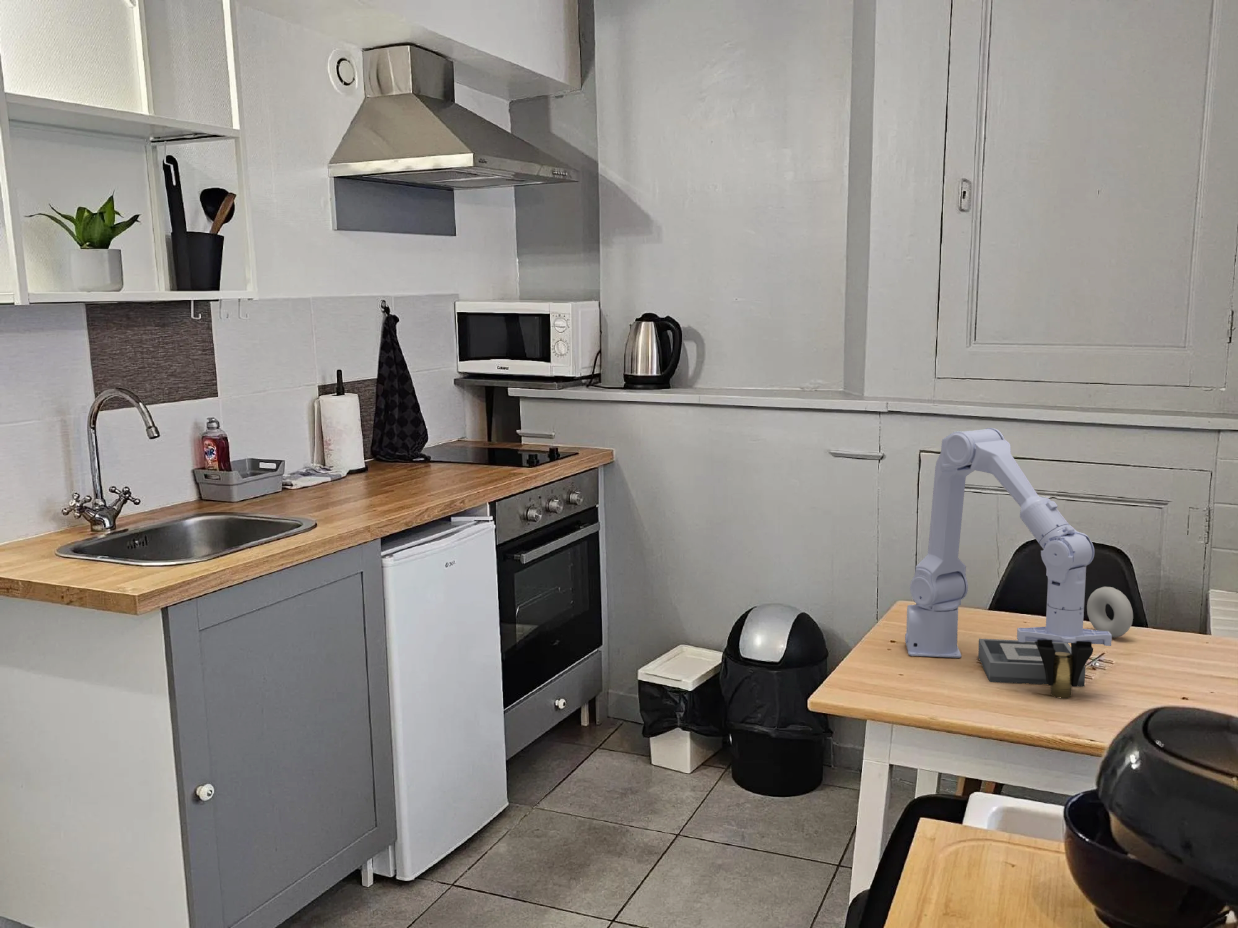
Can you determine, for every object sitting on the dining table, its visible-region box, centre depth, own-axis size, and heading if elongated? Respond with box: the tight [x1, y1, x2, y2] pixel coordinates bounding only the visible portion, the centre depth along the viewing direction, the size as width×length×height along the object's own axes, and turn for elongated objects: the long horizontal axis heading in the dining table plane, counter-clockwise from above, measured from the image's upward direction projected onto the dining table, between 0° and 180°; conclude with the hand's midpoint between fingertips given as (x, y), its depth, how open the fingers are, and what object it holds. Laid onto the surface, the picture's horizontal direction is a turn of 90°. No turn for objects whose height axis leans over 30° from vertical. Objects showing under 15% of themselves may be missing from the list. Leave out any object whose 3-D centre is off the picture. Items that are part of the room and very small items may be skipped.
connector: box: [1050, 652, 1073, 699], centre depth 178 cm, size 3×3×7 cm
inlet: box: [999, 643, 1043, 664], centre depth 190 cm, size 9×9×2 cm
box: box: [977, 638, 1086, 687], centre depth 190 cm, size 16×14×4 cm
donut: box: [1086, 586, 1134, 638], centre depth 208 cm, size 10×4×10 cm, turn 23°
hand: (1061, 683), depth 178 cm, fingers closed on connector, 3 cm apart
